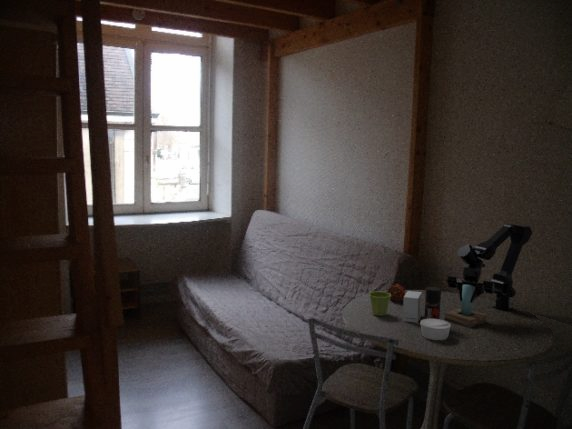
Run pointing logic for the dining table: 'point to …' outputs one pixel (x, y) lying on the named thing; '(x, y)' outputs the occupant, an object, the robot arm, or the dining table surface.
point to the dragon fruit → (396, 292)
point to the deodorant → (432, 303)
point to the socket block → (465, 318)
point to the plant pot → (379, 302)
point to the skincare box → (412, 306)
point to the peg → (466, 300)
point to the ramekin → (435, 329)
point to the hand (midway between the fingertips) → (466, 301)
